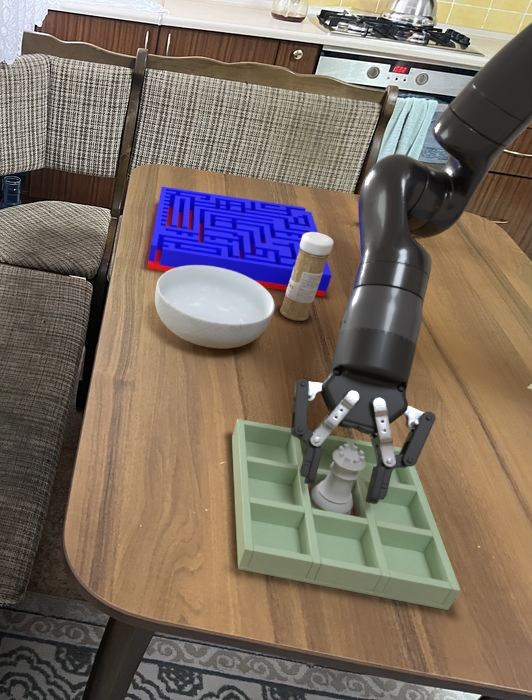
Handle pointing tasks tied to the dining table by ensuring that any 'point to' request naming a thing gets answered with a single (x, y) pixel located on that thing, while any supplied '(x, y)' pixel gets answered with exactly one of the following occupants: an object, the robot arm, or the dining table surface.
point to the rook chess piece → (338, 481)
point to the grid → (335, 523)
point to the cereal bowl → (213, 306)
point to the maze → (231, 236)
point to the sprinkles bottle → (306, 275)
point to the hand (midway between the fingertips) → (340, 492)
